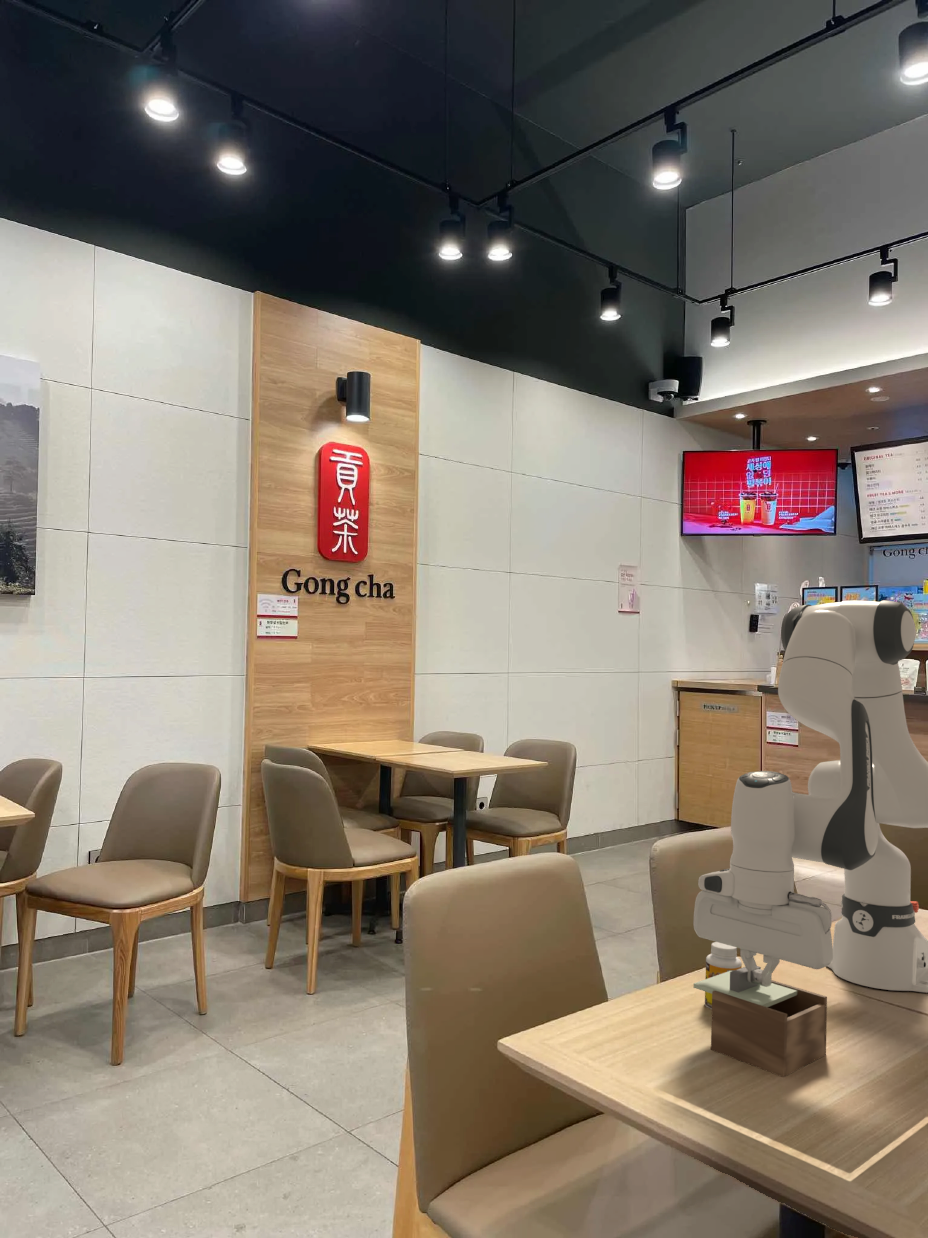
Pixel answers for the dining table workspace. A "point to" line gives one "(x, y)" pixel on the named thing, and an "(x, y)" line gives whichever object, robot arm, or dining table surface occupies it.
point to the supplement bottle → (720, 964)
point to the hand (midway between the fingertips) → (759, 984)
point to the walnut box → (771, 1030)
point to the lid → (745, 988)
